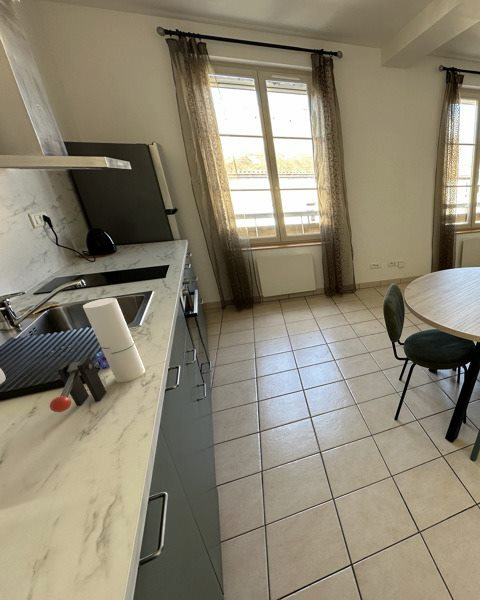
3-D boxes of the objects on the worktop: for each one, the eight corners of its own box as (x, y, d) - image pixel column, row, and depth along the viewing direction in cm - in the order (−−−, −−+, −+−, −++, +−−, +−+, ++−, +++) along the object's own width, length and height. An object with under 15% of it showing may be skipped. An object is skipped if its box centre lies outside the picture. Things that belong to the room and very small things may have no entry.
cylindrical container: (129, 371, 103) (98, 298, 93) (152, 371, 103) (122, 297, 93) (111, 385, 96) (75, 308, 87) (134, 385, 96) (101, 307, 87)
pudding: (96, 361, 110) (90, 348, 108) (139, 352, 114) (133, 339, 112) (81, 381, 100) (74, 366, 98) (129, 369, 104) (123, 355, 102)
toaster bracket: (104, 411, 86) (83, 371, 81) (61, 422, 83) (37, 380, 78) (122, 385, 96) (104, 348, 91) (84, 394, 93) (64, 355, 89)
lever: (71, 412, 78) (62, 404, 76) (52, 417, 77) (42, 408, 75) (90, 367, 88) (83, 358, 86) (74, 371, 87) (66, 362, 85)
